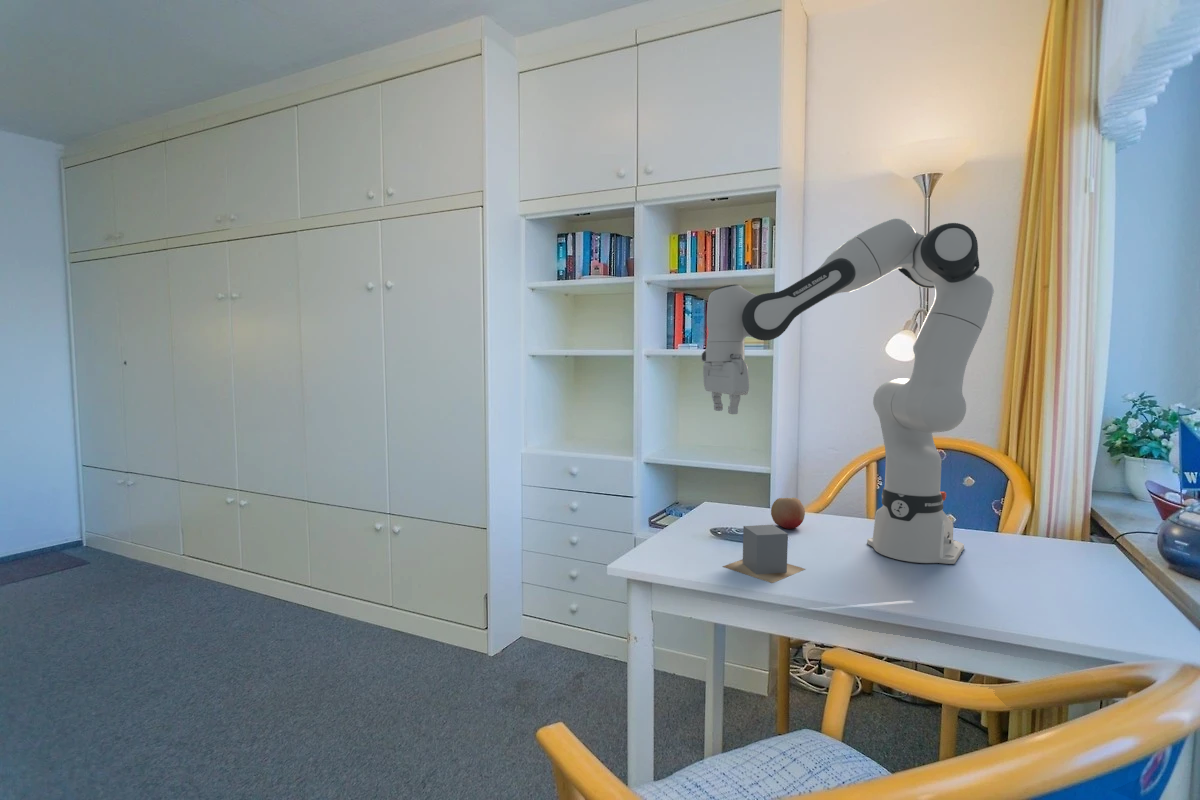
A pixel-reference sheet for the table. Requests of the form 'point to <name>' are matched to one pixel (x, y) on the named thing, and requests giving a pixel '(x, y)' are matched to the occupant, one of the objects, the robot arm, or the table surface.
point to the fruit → (788, 512)
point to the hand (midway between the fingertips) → (725, 412)
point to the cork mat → (770, 577)
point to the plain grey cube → (765, 549)
